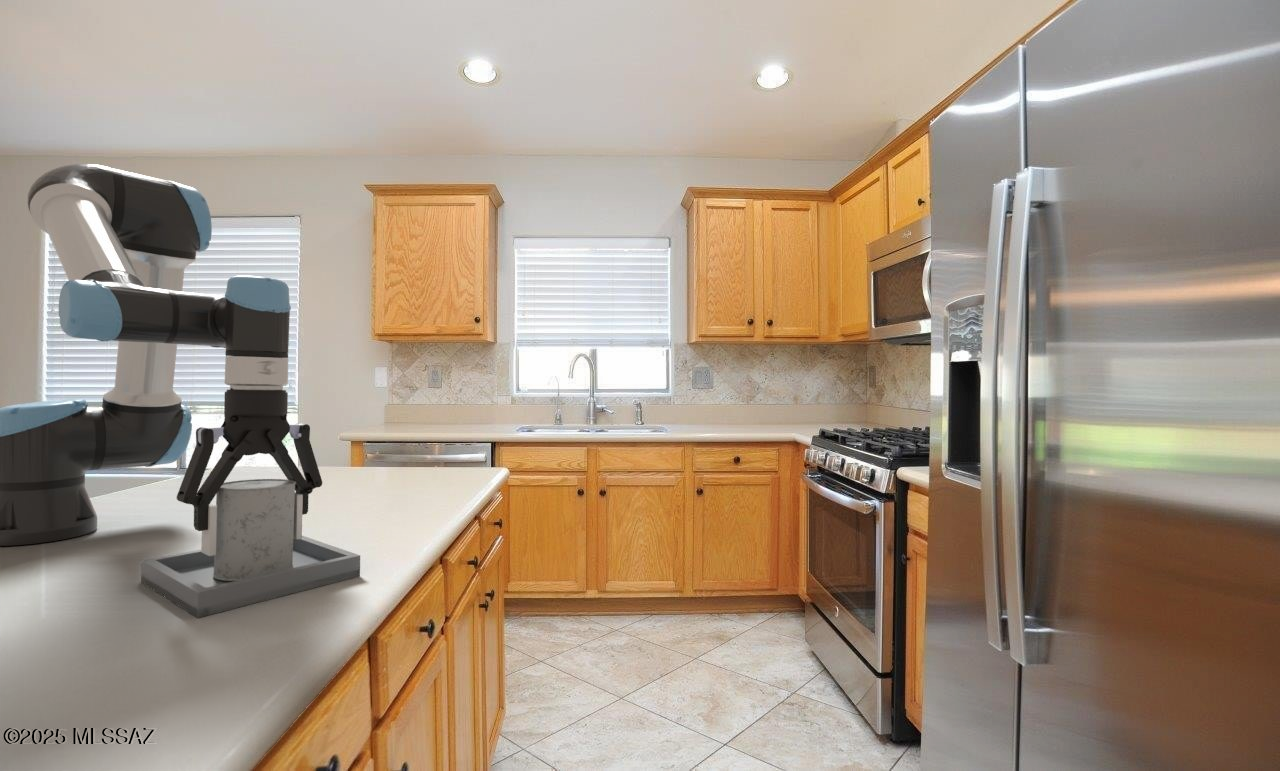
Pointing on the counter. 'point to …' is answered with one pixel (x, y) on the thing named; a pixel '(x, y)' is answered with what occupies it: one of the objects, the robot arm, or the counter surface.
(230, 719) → the counter surface
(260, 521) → the speckled white tin can
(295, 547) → the tray
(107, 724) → the counter surface
